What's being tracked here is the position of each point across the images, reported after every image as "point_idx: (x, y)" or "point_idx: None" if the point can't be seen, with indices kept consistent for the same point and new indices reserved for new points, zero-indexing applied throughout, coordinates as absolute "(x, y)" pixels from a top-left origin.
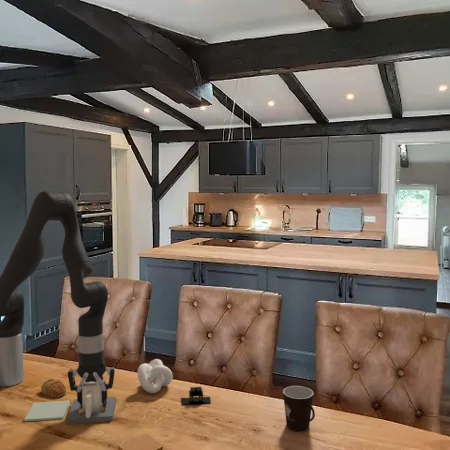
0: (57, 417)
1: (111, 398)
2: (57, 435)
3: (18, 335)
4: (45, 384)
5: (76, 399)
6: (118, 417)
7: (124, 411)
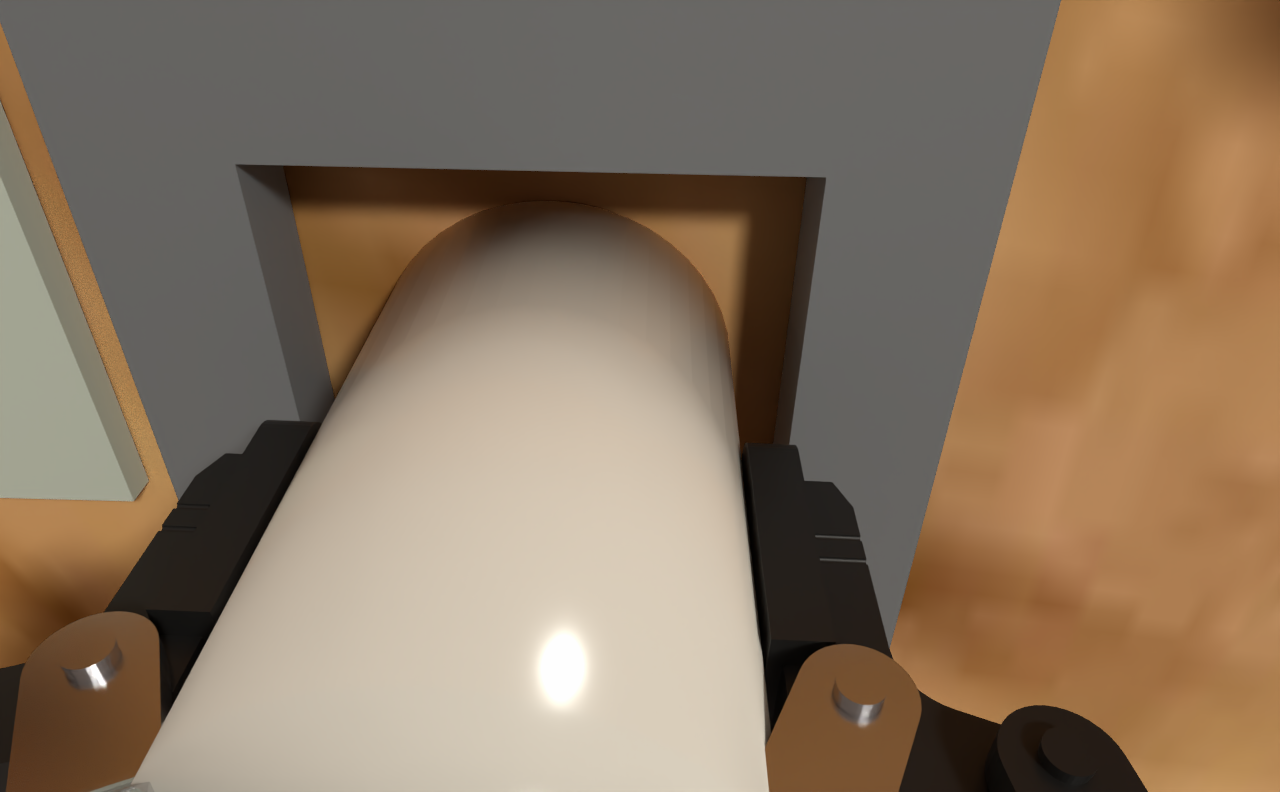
0: (50, 497)
1: (936, 66)
2: None
3: None
4: None
5: None
6: (959, 556)
7: (1089, 414)
